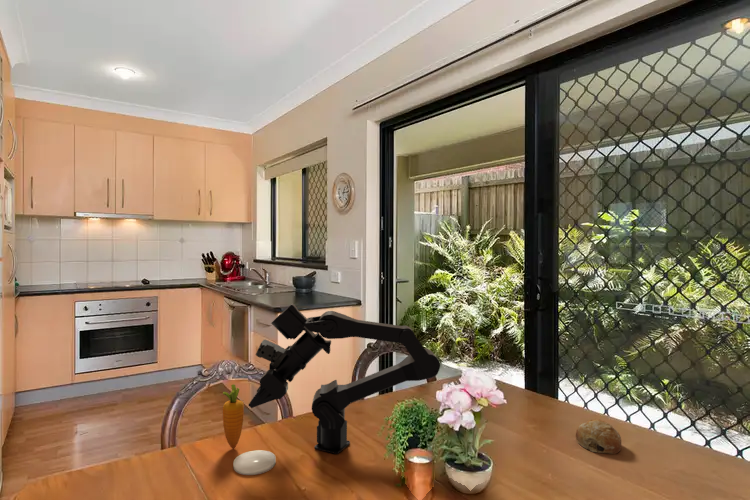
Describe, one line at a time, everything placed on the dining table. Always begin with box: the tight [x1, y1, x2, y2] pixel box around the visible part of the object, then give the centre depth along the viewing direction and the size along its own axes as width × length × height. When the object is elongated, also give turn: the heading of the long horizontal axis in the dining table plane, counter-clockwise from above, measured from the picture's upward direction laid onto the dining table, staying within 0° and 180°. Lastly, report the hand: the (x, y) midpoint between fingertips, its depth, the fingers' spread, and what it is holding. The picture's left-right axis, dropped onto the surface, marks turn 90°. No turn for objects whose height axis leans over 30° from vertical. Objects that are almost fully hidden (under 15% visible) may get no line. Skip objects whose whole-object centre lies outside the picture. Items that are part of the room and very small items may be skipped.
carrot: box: [222, 384, 245, 450], centre depth 105 cm, size 5×5×15 cm
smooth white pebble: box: [232, 449, 277, 476], centre depth 98 cm, size 9×9×1 cm
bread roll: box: [575, 418, 622, 455], centre depth 108 cm, size 10×10×8 cm
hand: (254, 399), depth 105 cm, fingers open, 9 cm apart
